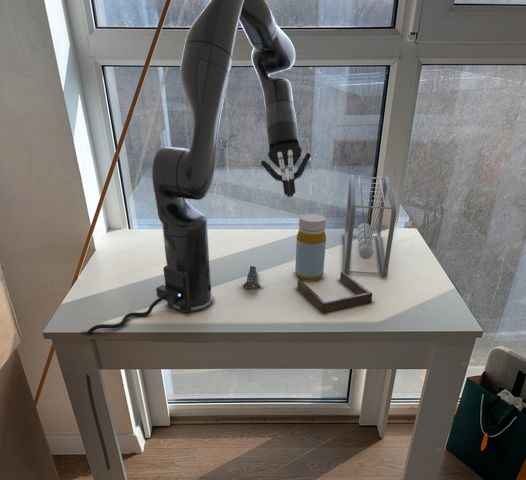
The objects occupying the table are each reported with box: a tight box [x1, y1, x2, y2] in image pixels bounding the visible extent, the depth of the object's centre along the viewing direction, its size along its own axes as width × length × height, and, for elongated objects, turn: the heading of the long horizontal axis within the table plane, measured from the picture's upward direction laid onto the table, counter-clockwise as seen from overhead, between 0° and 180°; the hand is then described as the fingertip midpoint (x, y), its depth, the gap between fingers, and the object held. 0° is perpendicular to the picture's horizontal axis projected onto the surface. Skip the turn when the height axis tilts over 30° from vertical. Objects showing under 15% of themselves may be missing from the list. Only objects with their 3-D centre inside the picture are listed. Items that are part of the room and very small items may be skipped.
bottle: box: [294, 212, 327, 282], centre depth 123 cm, size 7×7×15 cm
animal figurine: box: [242, 265, 262, 289], centre depth 121 cm, size 12×4×5 cm, turn 174°
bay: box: [296, 271, 373, 314], centre depth 117 cm, size 13×13×2 cm
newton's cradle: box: [343, 174, 397, 278], centre depth 133 cm, size 30×10×18 cm, turn 172°
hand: (290, 196), depth 126 cm, fingers closed
